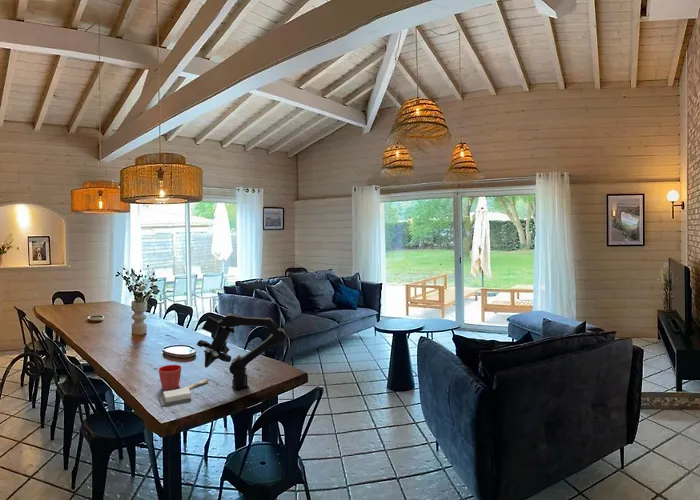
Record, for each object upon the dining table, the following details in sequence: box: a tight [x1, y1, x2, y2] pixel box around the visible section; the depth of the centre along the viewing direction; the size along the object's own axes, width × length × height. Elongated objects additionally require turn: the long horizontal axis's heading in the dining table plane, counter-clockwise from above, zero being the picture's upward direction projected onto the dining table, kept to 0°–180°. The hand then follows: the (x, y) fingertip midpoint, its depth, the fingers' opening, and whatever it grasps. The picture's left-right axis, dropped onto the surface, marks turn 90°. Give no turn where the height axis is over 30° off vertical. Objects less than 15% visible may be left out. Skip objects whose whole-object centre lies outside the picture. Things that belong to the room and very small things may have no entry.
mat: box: [157, 395, 190, 408], centre depth 206 cm, size 12×12×1 cm
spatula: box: [183, 378, 209, 391], centre depth 220 cm, size 18×4×1 cm, turn 144°
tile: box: [162, 386, 192, 403], centre depth 206 cm, size 3×8×11 cm
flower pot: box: [158, 364, 182, 391], centre depth 221 cm, size 11×11×10 cm
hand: (205, 367), depth 214 cm, fingers closed
